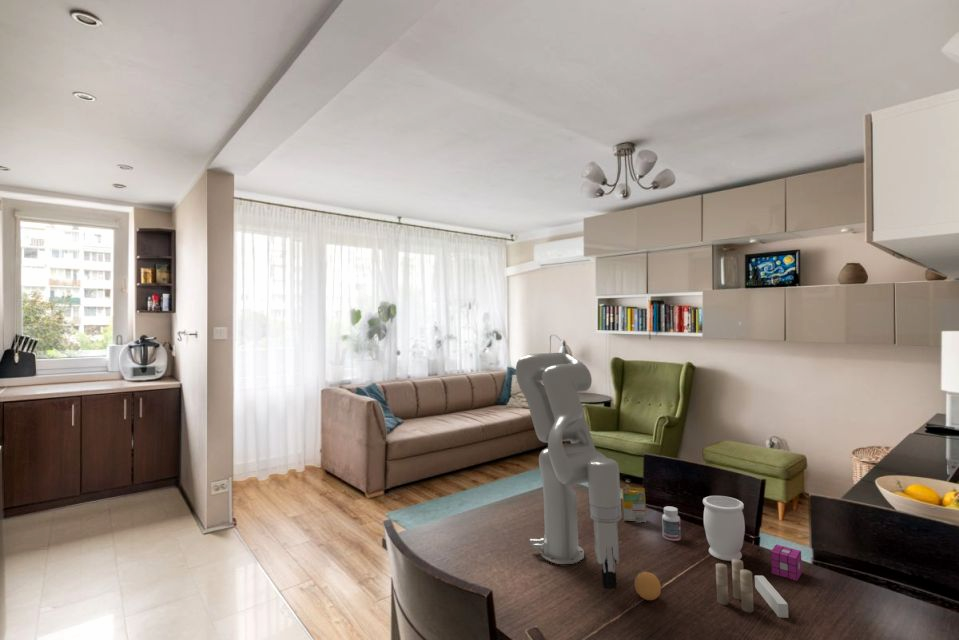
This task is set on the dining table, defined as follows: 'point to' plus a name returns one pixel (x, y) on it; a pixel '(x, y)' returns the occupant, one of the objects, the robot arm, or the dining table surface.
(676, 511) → the pill bottle
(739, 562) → the pin
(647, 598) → the ball
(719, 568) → the pin front
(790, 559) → the puzzle toy
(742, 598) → the pin
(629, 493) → the crayon box
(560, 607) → the dining table surface
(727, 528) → the jar
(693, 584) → the dining table surface
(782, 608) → the back rail
